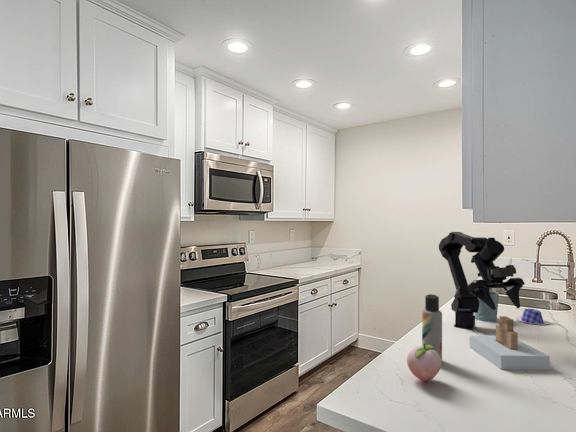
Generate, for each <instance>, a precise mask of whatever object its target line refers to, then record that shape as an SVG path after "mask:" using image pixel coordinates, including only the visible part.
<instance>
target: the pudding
mask: <svg viewBox="0 0 576 432" xmlns="http://www.w3.org/2000/svg"><path fill="white" fill-rule="evenodd" d="M515 320H516V321H519V322H522V323H526V324H529V325H530V324H531V325H537V326H538V325H540V326H542V325H543V326H544V325H549V324H550V321H549V320H546V319H544V318H543V314H542V312H541V310H539V309H534V308H525V309H524V310H523V312H522V316H518V317H515Z"/></svg>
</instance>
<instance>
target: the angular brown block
mask: <svg viewBox="0 0 576 432" xmlns="http://www.w3.org/2000/svg"><path fill="white" fill-rule="evenodd" d="M498 319H499V320H498V322H499V325H497V324H495V336H496V341H497V342H498V343H500V344H502V345H503V346H505V347H507V348H508V349H510V350H518V340H519V339H518V337H519V336H518V335H519V334H518V332H516V331H515V330H514V319H513V318H510V317H508V316H506V315H504V316H503V315H501V316H499V318H498Z"/></svg>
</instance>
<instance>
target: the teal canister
mask: <svg viewBox="0 0 576 432" xmlns="http://www.w3.org/2000/svg"><path fill="white" fill-rule="evenodd" d="M489 294H490V296H491V298H492V300H493V302H494V304H495V307H496V309H495V310H493V309H491V308H490V307H489V306H488V305H487V304H486V303H484V302H483V301H482V300H481V299H479V298H478V299H479V302H480V304H479V309H478V313H474V316H475V320H477V321H481V322H487V323H488V322H489V323H496V322H497V321H498V310H499V308H498V307H499V295H500V293H499V292H498V291H494V290H489Z"/></svg>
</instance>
